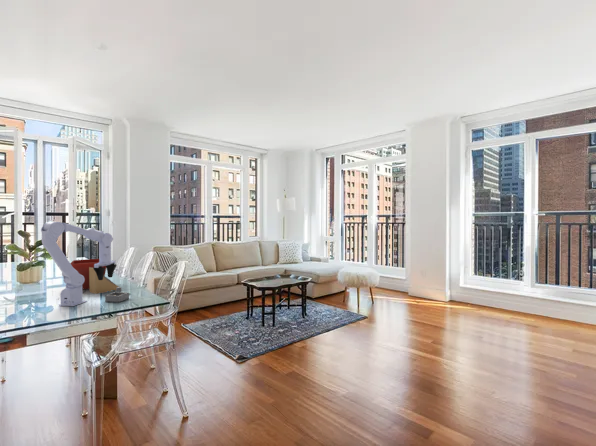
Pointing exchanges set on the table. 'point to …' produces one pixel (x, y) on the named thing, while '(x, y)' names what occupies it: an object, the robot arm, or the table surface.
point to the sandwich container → (99, 283)
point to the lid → (120, 290)
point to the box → (117, 297)
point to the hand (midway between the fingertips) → (105, 278)
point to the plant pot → (85, 269)
